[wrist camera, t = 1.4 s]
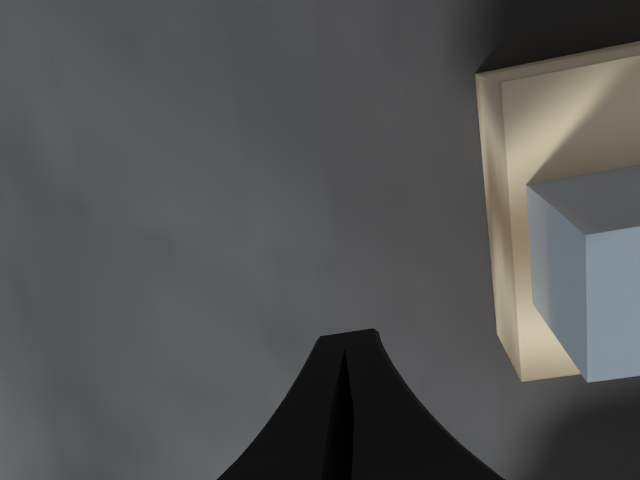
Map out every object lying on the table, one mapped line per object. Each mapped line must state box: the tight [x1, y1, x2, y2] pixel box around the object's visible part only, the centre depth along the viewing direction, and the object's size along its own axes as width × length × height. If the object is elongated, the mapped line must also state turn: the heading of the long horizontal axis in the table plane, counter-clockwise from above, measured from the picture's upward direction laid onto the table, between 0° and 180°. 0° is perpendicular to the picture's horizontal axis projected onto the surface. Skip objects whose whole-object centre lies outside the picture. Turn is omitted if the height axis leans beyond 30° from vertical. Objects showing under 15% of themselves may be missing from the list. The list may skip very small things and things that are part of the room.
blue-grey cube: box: [526, 165, 640, 383], centre depth 14 cm, size 4×4×4 cm
